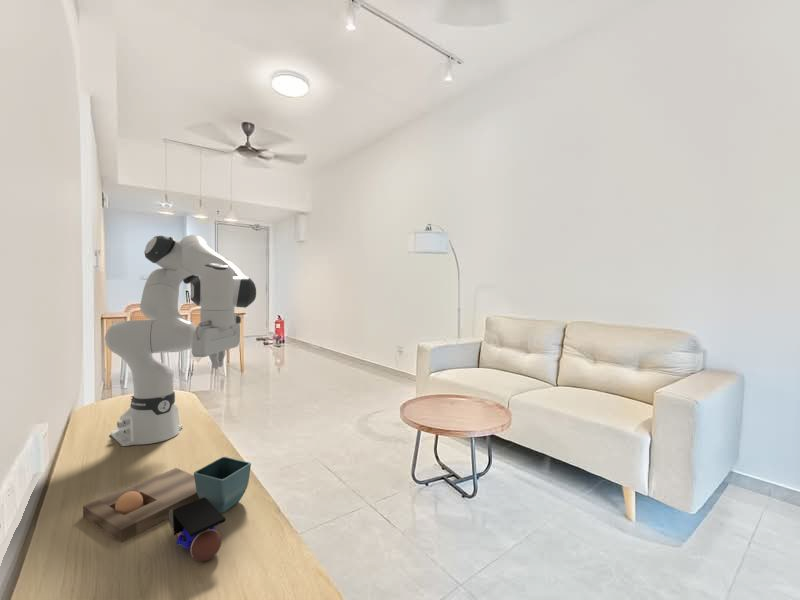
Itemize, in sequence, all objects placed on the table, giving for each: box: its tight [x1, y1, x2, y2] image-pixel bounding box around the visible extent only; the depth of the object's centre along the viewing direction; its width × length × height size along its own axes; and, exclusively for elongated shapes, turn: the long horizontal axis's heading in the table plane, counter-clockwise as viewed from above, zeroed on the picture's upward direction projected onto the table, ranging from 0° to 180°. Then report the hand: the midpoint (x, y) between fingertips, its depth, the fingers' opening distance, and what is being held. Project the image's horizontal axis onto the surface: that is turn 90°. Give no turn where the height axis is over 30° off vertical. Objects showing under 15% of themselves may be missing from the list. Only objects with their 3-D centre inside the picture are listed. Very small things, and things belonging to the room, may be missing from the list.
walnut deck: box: [82, 467, 199, 543], centre depth 86 cm, size 16×20×2 cm
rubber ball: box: [115, 491, 144, 515], centre depth 82 cm, size 5×5×5 cm
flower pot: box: [193, 456, 252, 514], centre depth 86 cm, size 9×9×9 cm
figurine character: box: [168, 497, 227, 562], centre depth 73 cm, size 7×8×15 cm
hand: (217, 367), depth 108 cm, fingers closed
